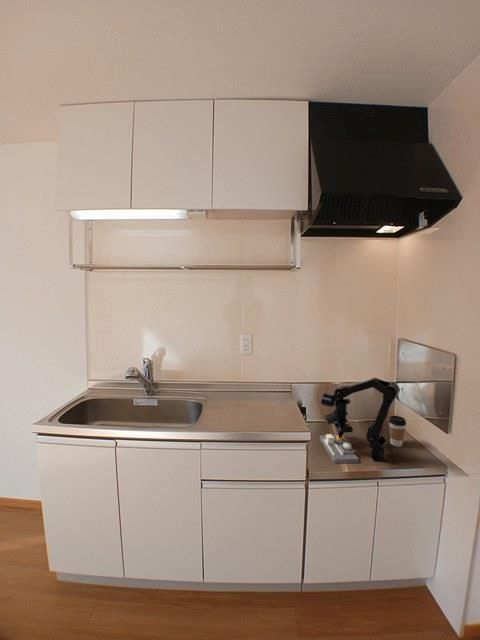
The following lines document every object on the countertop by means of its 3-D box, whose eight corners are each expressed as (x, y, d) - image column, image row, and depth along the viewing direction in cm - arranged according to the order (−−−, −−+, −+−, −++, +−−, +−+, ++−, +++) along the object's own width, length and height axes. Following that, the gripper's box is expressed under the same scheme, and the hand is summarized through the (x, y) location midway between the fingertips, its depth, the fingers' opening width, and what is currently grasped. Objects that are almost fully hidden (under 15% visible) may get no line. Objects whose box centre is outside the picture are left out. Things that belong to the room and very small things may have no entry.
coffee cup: (387, 445, 164) (388, 419, 163) (387, 438, 172) (389, 413, 170) (404, 449, 160) (406, 422, 159) (404, 442, 168) (406, 416, 166)
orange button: (344, 442, 163) (344, 438, 162) (337, 442, 163) (337, 439, 162) (342, 438, 167) (342, 435, 166) (334, 438, 167) (334, 435, 166)
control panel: (358, 462, 148) (358, 456, 148) (334, 463, 148) (334, 456, 147) (340, 438, 172) (340, 432, 172) (319, 438, 172) (319, 433, 171)
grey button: (352, 450, 153) (352, 446, 152) (344, 450, 152) (344, 446, 152) (349, 446, 157) (349, 442, 156) (341, 446, 156) (341, 442, 156)
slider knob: (333, 444, 161) (333, 437, 161) (328, 444, 161) (328, 437, 161) (331, 440, 165) (331, 434, 165) (325, 440, 165) (325, 434, 165)
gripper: (320, 403, 172) (320, 429, 173) (332, 417, 153) (331, 446, 155) (340, 403, 172) (339, 429, 174) (353, 416, 154) (352, 446, 155)
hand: (339, 437), depth 164 cm, fingers closed, pressing on orange button
